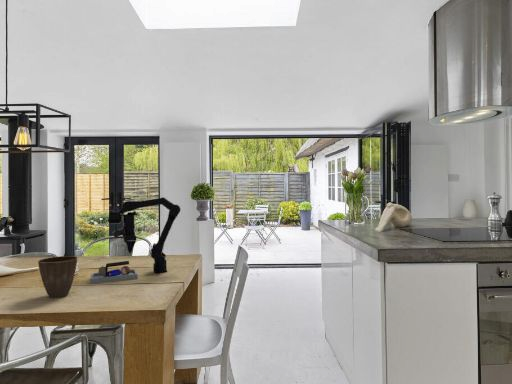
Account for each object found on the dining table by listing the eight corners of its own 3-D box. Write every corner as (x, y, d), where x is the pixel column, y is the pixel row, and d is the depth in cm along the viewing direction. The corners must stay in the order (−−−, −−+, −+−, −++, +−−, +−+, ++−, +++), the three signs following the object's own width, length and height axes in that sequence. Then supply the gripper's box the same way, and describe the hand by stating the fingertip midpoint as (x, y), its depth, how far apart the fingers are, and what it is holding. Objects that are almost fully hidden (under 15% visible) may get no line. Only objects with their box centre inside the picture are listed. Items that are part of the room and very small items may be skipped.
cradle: (135, 273, 186) (135, 268, 186) (137, 278, 174) (137, 273, 174) (91, 277, 177) (91, 273, 177) (90, 283, 165) (90, 279, 165)
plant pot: (41, 293, 151) (41, 257, 151) (79, 288, 157) (78, 254, 157) (35, 303, 137) (34, 263, 137) (76, 297, 143) (76, 260, 143)
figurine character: (99, 282, 170) (131, 275, 175) (97, 267, 169) (129, 261, 175) (100, 279, 176) (130, 273, 182) (98, 265, 176) (128, 259, 181)
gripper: (112, 222, 191) (113, 250, 191) (113, 225, 174) (114, 255, 174) (133, 221, 196) (134, 248, 196) (136, 224, 179) (136, 253, 179)
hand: (129, 251), depth 186 cm, fingers open, 9 cm apart
